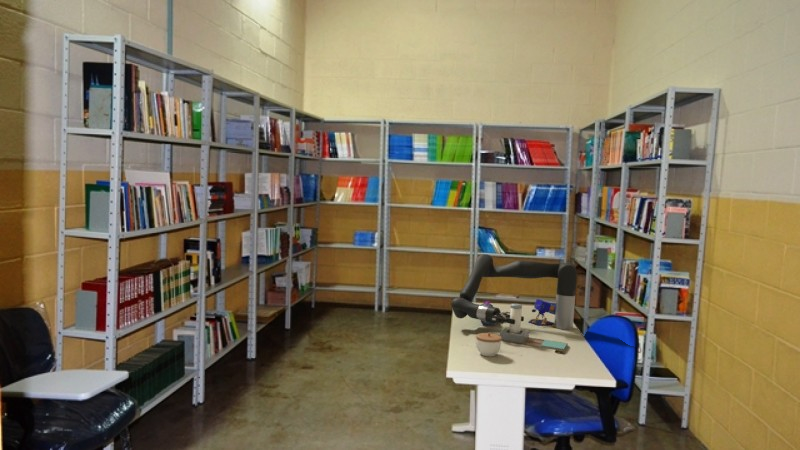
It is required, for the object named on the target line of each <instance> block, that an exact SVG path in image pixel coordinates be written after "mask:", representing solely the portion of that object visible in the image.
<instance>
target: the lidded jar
mask: <svg viewBox="0 0 800 450" xmlns="http://www.w3.org/2000/svg"><path fill="white" fill-rule="evenodd" d="M475 340H476V341H475V344H476V349H477V351H478V352H479V354H480V355H481V356H484V357H495V356H496V354H498V353H499V352H500V350H501V346H502V341H501V340H502V337H501V336H500V334H496V333H491V332H481V333H478V334H476V335H475Z"/></svg>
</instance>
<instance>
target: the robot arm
mask: <svg viewBox="0 0 800 450" xmlns="http://www.w3.org/2000/svg"><path fill="white" fill-rule="evenodd" d="M473 266H474V267H473V269H472V271H471V273H470V275H469V277H468V279H467V281H466V283H465V285H464V286H463V288H462V290H461V291H460V293H459V297H456V298H453V299H452V300H451V302H450V307H451V310H452V312H453V314H454V316H455V317H456V318H458V319H464V318H466V317H467V316H468V317H469V318H471V319H475V320H480V321H481V320H482V321H485V322H490V323H494V324H495V325H496V324H501V325H502V324H509V325H510V324H515V320H514V319H510V312H509V311H501V310H500V308H499V307H495V306H493V307H491V306H486V305H481V304H478V303H473V300H474V298H475V297H476V294H477V293H478V290H479V288H480V285H481V282H482V279H483V278H515V279H516V278H517V279H527V280H528V279H531V280H532V279H533V280H534V279H543V278H553V279H557V285H556V286H557V287H556V293H555V294H556V297H555V305H556V309H555V315H554V322H553V323H554V324H553V326H554V327H555V328H556V329H558V330H559V329H560V330H564V331H565V330H569V331H570V330H573V329H574V316H575V315H574V314H575V305H576V304H575V302H576V301H575V300H576V292H577V283H578V271H577V268H576V267H575V266H574V265H573V264H572V263H569V262H559V263H555V262H554V263H553V262H552V263H548V262H541V261H535V260H534V261H532V260H523V259H522V260H521V259H520V260H515V261H513V262H511V263H508V264H505V265H494V259H493V257H492V256H491V255H489V254H486V253H484V254H480V255H479V256H477V257H476V260H475V263H474V265H473ZM524 319H525V317H524V316H523V315H521V322H524ZM554 327H553V328H554Z"/></svg>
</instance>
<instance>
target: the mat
mask: <svg viewBox="0 0 800 450" xmlns="http://www.w3.org/2000/svg"><path fill="white" fill-rule="evenodd" d="M543 340H544V342H543V343H542V344H541V346H542V347H549V348H555V349H561V350H564V349H565V347H566V345H567V342H562V343H561V341H556V342H554V341H555V340H550V341H548V339H543ZM565 350H566V349H565Z"/></svg>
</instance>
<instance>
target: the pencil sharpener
mask: <svg viewBox="0 0 800 450" xmlns="http://www.w3.org/2000/svg"><path fill="white" fill-rule="evenodd" d="M555 309H556V303H555V304H554V303H553V302H552V303H551V302H548V301H545V300H543V299H539V298H538V299H536V300H535V302H534V308H533V309H531V312H532V313H536V312H538V313H537V315H536V317H535V318H531V319H530V320H529V321H528V322H527V323H528V324H531V325H535V326H537V327H539V326H540V327H549V328H554V323H555V322H553V321H550V320H547V317H545V314H546V313H549V314H550V315H551V314H552V315H554V316H555ZM537 310H538V311H537ZM540 315H541V318H542V319H539V317H540Z"/></svg>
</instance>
